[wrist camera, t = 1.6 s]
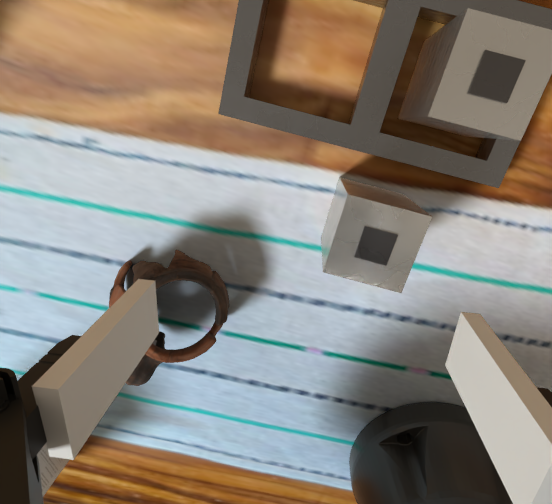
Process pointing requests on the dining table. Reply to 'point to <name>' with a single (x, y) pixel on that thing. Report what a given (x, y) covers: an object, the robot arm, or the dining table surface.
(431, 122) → the gray upright block
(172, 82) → the dining table surface
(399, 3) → the two-slot nut tray
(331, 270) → the nut block
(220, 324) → the pottery mug
